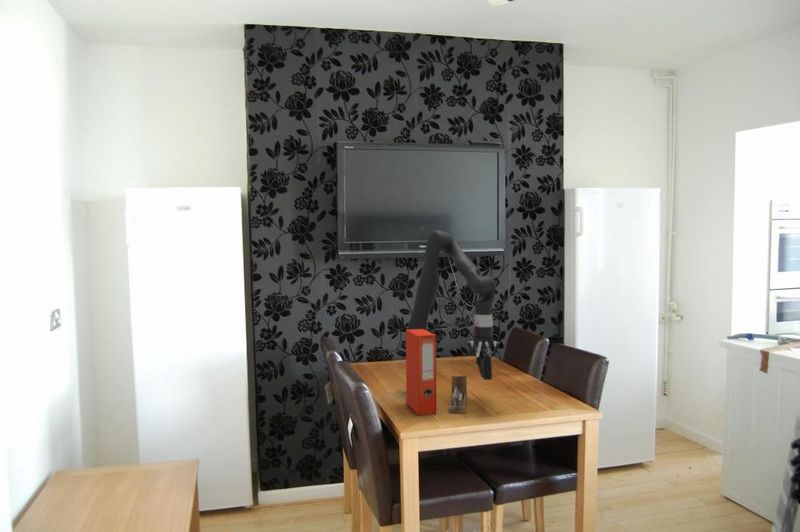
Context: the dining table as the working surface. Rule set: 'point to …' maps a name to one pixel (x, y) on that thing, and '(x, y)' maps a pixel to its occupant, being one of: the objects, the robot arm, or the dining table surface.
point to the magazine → (485, 365)
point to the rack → (461, 385)
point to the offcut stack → (457, 398)
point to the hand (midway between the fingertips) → (483, 365)
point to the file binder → (421, 371)
